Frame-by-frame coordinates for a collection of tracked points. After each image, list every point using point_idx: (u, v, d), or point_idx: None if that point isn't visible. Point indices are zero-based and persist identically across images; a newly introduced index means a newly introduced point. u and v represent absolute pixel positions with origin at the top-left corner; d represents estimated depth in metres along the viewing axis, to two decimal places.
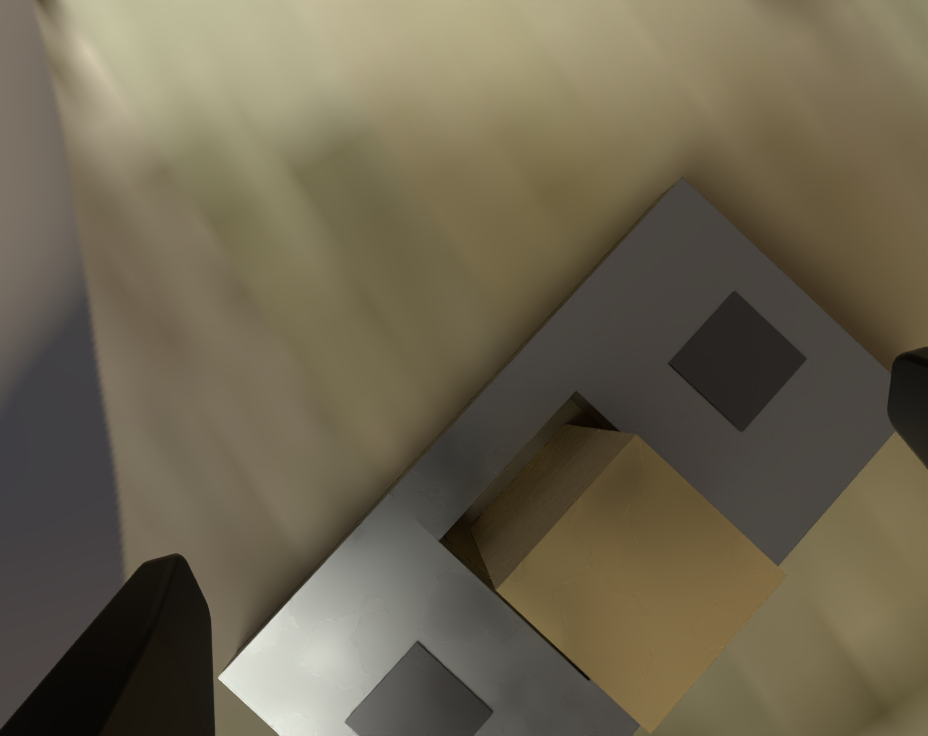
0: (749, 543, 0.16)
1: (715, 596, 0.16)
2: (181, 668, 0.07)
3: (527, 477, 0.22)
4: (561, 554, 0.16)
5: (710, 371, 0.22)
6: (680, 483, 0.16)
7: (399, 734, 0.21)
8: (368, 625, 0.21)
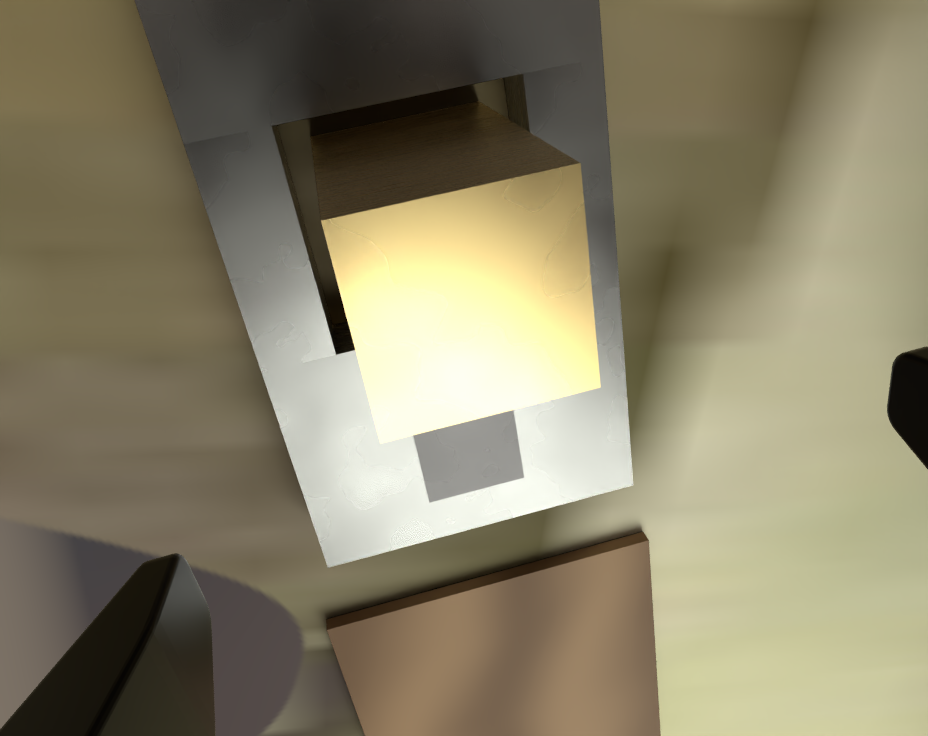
0: (520, 179, 0.13)
1: (540, 251, 0.13)
2: (181, 668, 0.07)
3: None
4: (390, 370, 0.14)
5: None
6: (406, 210, 0.12)
7: (469, 470, 0.22)
8: (367, 447, 0.21)
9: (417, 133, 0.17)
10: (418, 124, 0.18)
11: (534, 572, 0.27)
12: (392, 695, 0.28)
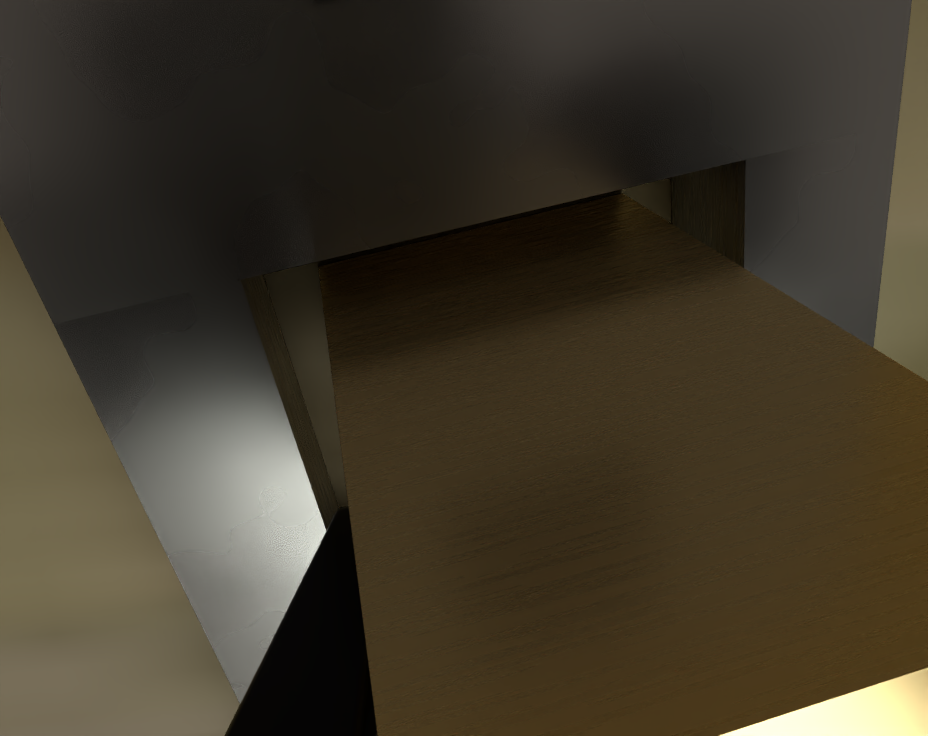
0: None
1: None
2: None
3: None
4: None
5: None
6: None
7: None
8: None
9: (541, 288, 0.08)
10: (529, 254, 0.09)
11: None
12: None
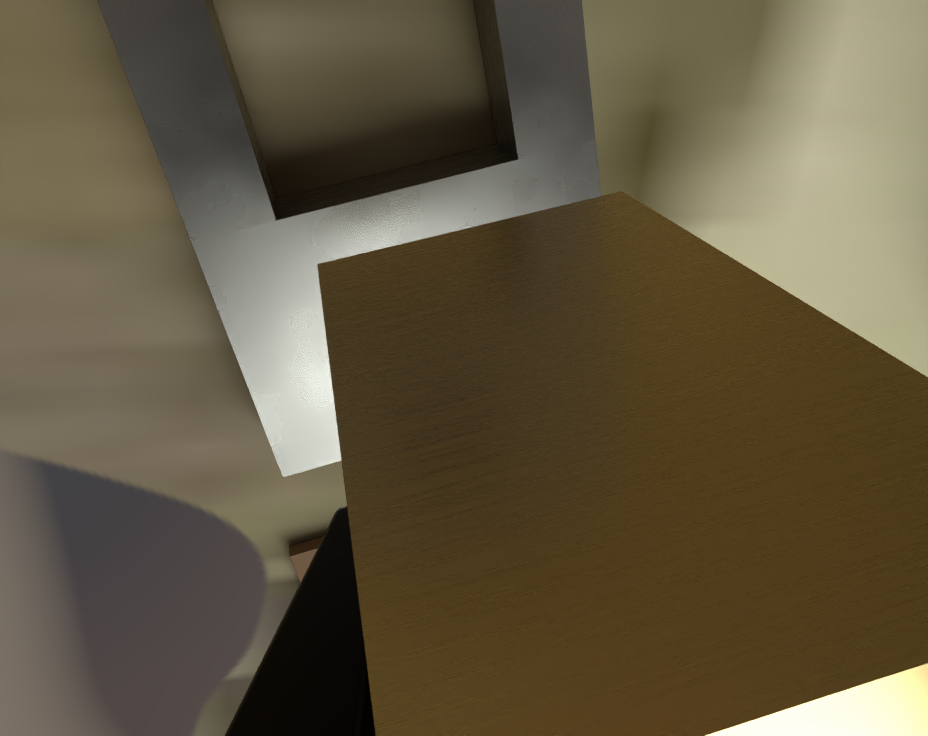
0: None
1: None
2: None
3: None
4: None
5: None
6: None
7: None
8: (319, 334, 0.19)
9: (540, 285, 0.08)
10: (528, 251, 0.09)
11: None
12: None
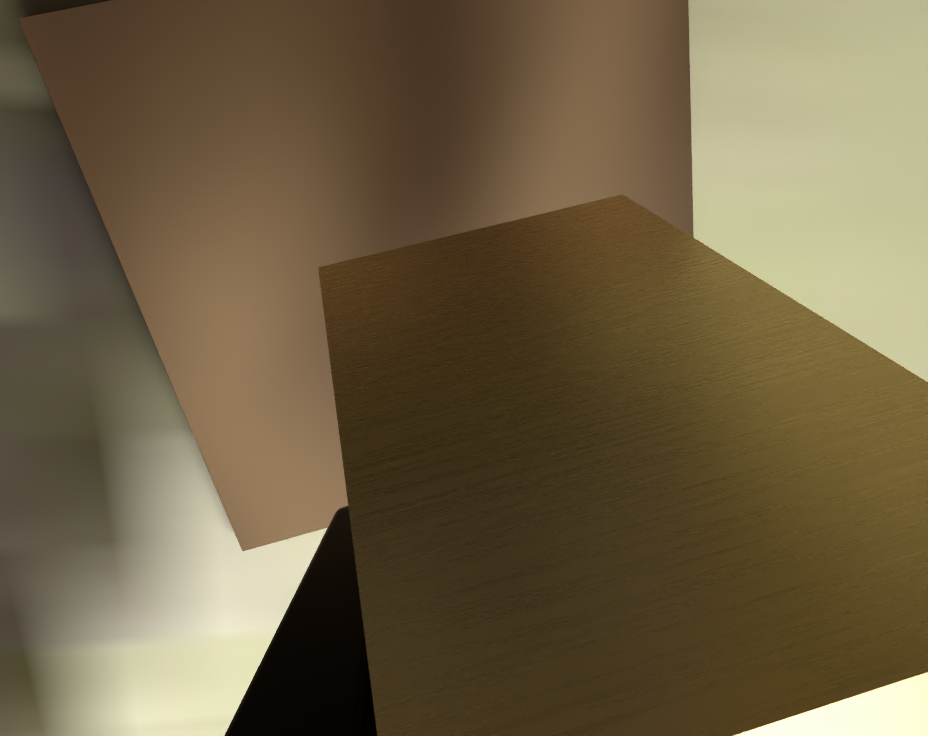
0: None
1: None
2: None
3: None
4: None
5: None
6: None
7: None
8: None
9: (541, 289, 0.08)
10: (529, 255, 0.09)
11: None
12: (191, 233, 0.15)
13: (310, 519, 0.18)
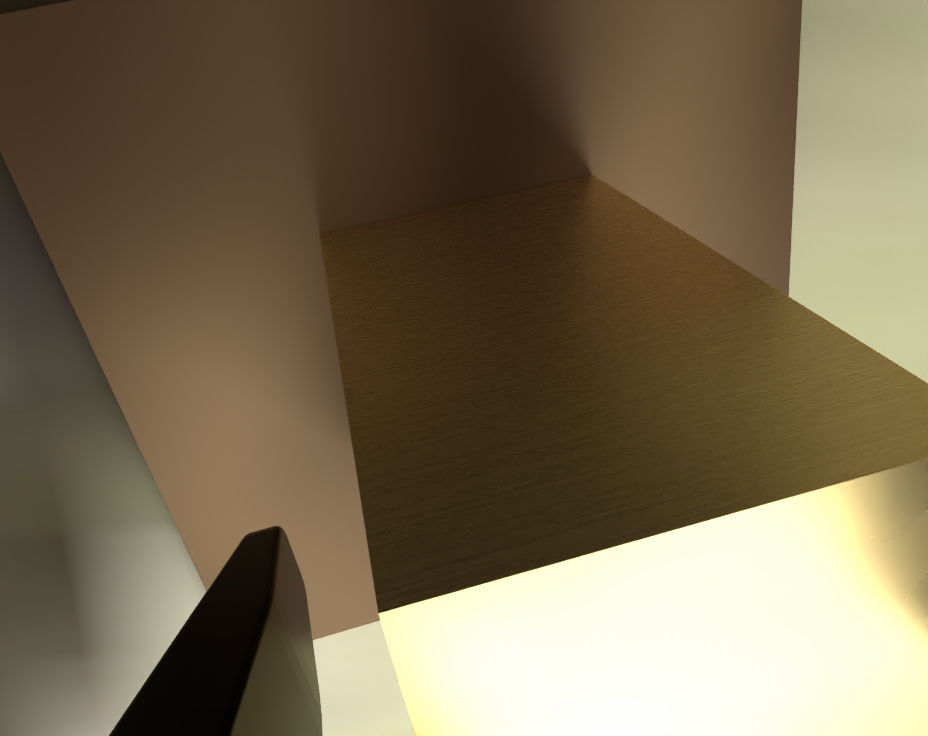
0: (868, 478, 0.05)
1: (873, 609, 0.06)
2: (293, 635, 0.08)
3: None
4: None
5: None
6: (595, 573, 0.05)
7: None
8: None
9: (515, 251, 0.10)
10: (506, 224, 0.11)
11: None
12: (174, 295, 0.12)
13: (321, 624, 0.15)
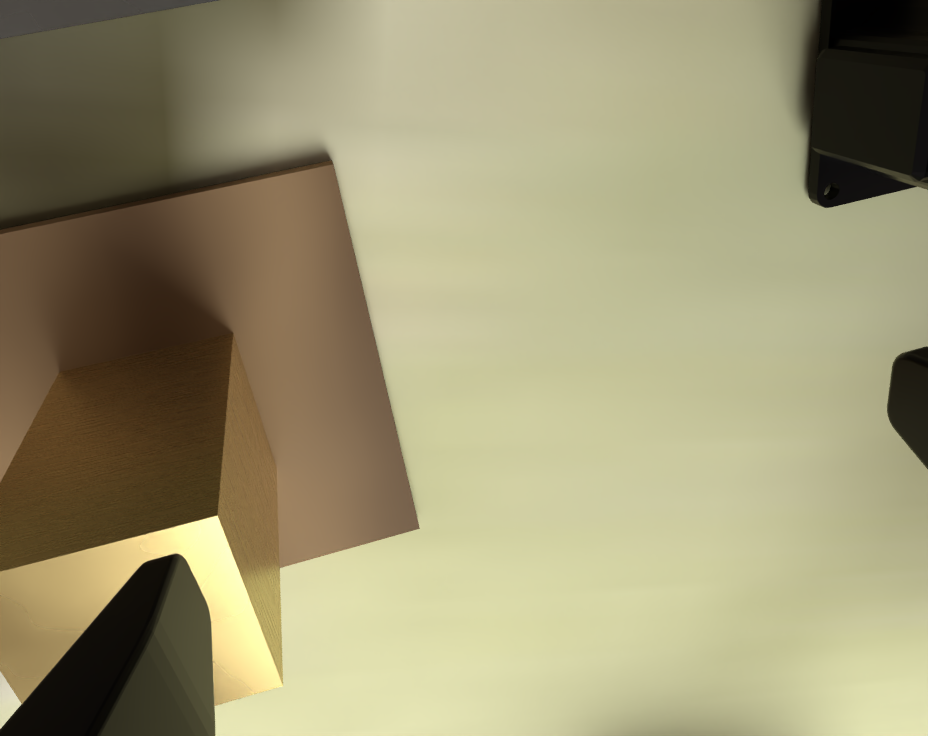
0: (156, 533, 0.13)
1: None
2: (181, 668, 0.07)
3: None
4: None
5: None
6: (36, 570, 0.13)
7: None
8: None
9: (142, 395, 0.18)
10: (156, 372, 0.19)
11: (155, 201, 0.18)
12: None
13: None
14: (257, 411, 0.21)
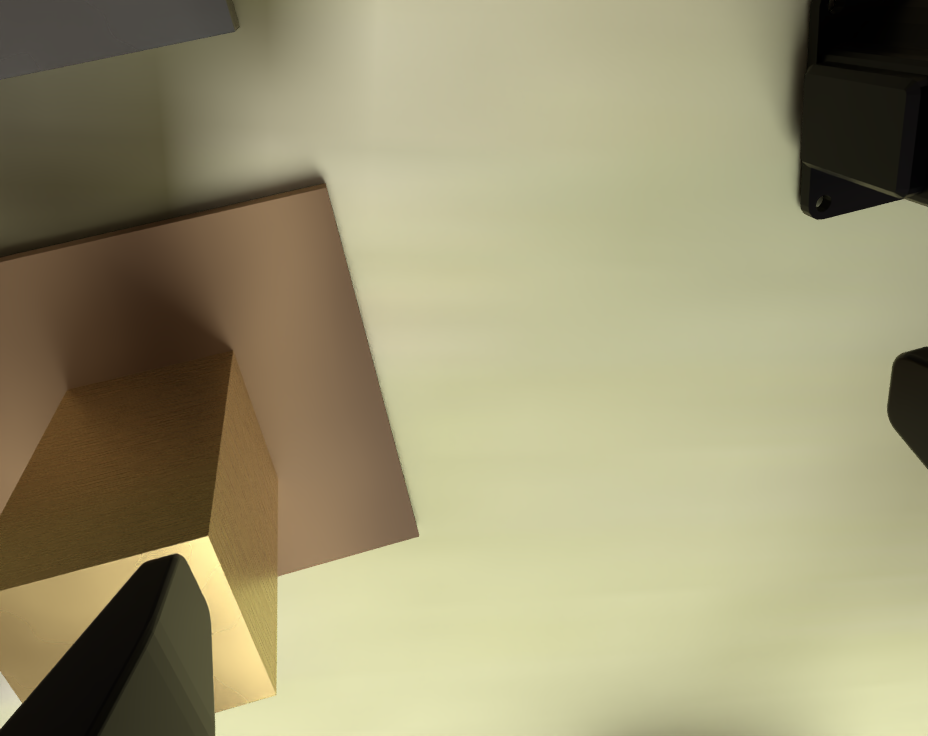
0: (150, 552, 0.14)
1: None
2: (181, 668, 0.07)
3: None
4: None
5: None
6: (38, 588, 0.13)
7: None
8: None
9: (144, 414, 0.18)
10: (158, 390, 0.19)
11: (155, 226, 0.19)
12: None
13: None
14: (258, 425, 0.22)
